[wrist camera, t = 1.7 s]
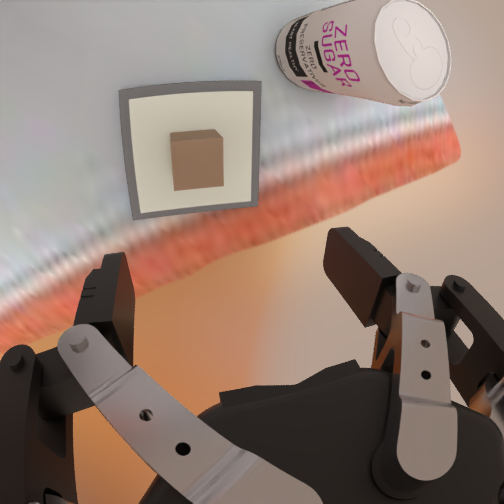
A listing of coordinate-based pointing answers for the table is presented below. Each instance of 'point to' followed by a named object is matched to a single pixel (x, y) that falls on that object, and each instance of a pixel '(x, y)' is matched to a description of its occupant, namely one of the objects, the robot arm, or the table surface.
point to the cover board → (189, 118)
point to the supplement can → (368, 51)
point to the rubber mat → (178, 89)
